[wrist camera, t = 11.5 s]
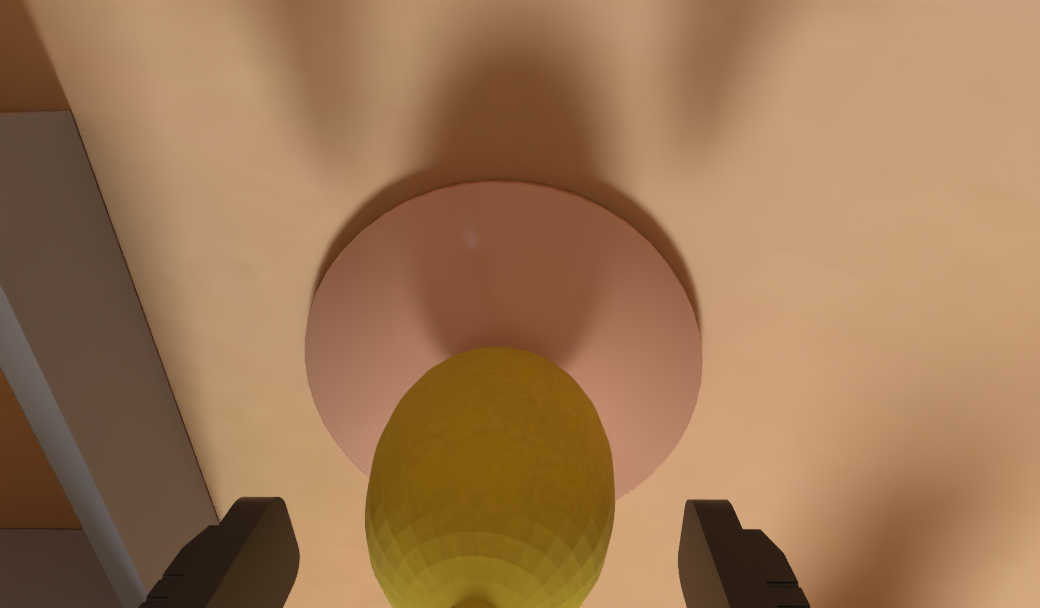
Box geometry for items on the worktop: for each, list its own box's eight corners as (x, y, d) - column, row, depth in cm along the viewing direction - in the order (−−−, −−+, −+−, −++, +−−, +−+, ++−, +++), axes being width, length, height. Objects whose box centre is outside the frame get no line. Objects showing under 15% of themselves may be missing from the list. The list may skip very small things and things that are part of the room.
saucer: (274, 184, 14) (264, 188, 13) (721, 175, 14) (728, 179, 13) (346, 512, 19) (341, 525, 18) (676, 514, 18) (680, 528, 18)
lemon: (525, 262, 14) (506, 462, 7) (631, 401, 16) (708, 683, 8) (377, 362, 16) (230, 616, 8) (488, 480, 17) (449, 777, 10)
